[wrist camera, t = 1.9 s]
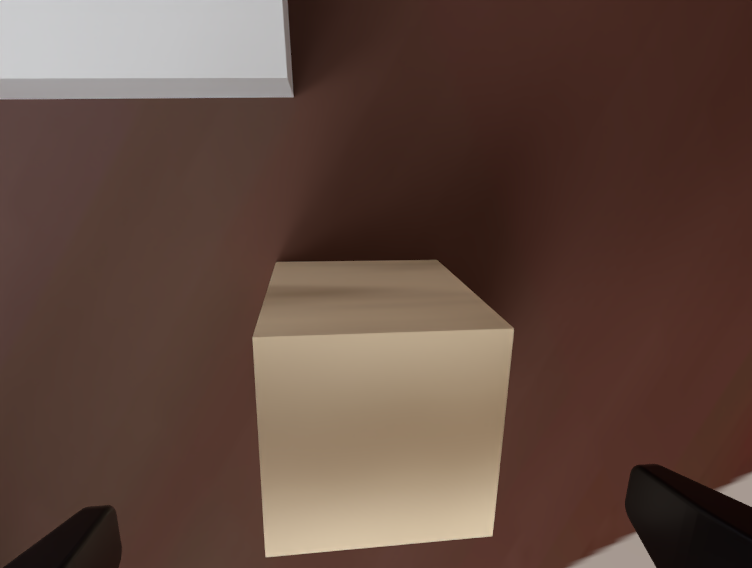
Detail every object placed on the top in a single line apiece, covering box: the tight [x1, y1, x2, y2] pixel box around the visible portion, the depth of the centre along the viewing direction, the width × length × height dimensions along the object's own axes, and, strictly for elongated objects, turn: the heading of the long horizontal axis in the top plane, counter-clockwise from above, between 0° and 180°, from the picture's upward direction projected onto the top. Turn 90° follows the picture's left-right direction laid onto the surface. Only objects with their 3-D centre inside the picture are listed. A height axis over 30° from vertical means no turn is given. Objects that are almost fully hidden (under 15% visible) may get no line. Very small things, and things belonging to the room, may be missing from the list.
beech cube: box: [252, 260, 514, 557], centre depth 12 cm, size 5×5×6 cm
